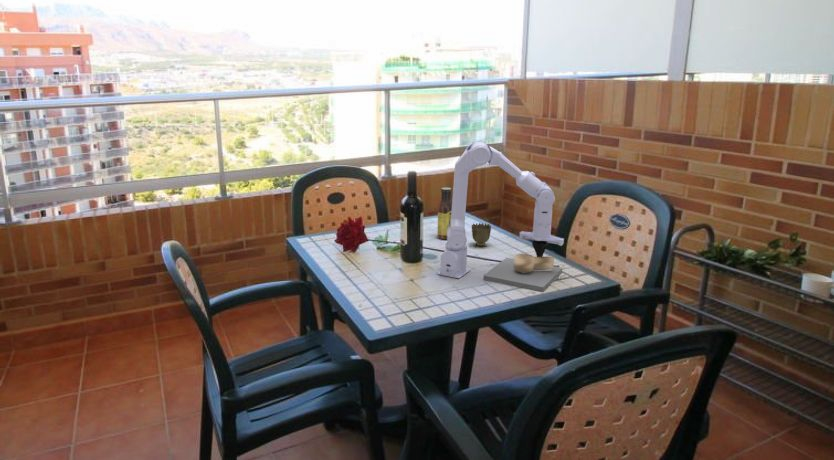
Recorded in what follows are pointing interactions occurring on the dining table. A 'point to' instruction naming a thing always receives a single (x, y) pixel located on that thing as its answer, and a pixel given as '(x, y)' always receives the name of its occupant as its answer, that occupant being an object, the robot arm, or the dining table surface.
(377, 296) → the dining table surface
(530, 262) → the beige rounded piece
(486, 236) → the cup
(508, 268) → the base plate
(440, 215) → the sauce bottle
